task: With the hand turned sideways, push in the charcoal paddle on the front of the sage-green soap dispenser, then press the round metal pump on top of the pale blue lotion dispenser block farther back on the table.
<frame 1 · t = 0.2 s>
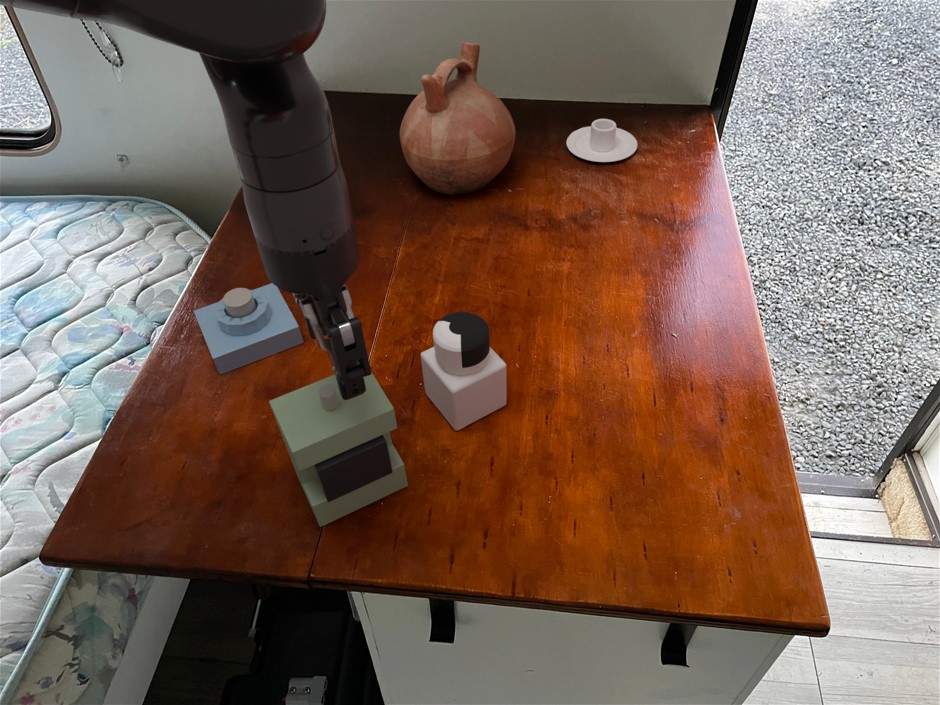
hand: (337, 363, 65), 17 cm above the table, tool pointing down, fingers open, 8 cm apart
soap dispenser: (356, 488, 76), on the table
jug: (459, 177, 117), on the table
medicine bottle: (465, 400, 84), on the table
candle holder: (601, 148, 122), on the table
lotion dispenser: (251, 334, 93), on the table
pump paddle: (354, 468, 69), point 7 cm above the table, slide at -0.1 cm
lotion pump: (239, 303, 89), point 6 cm above the table, slide at 0.1 cm
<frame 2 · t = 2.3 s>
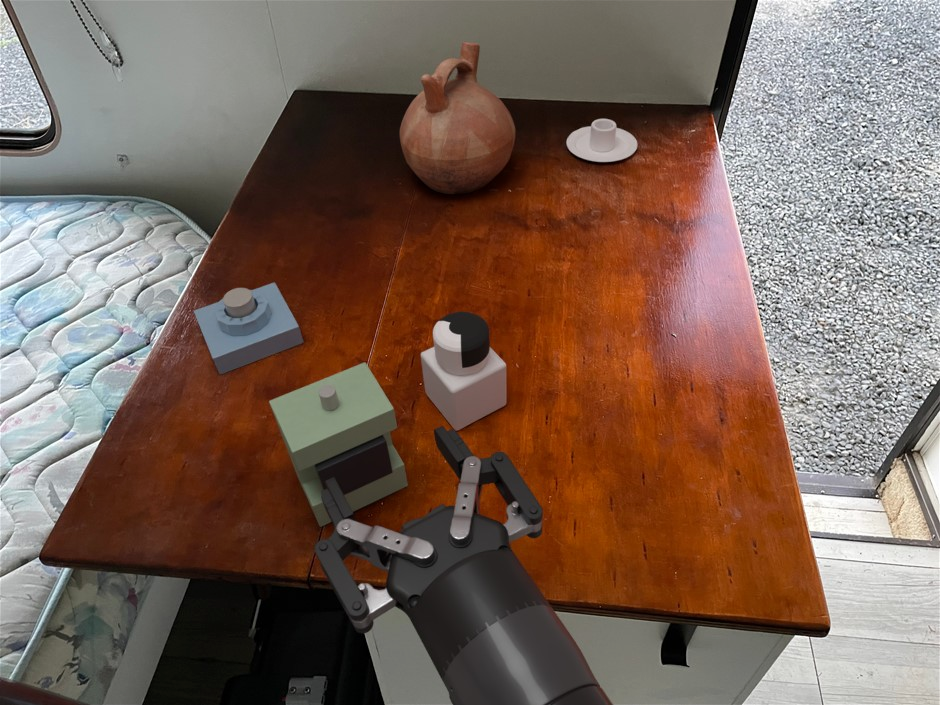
hand: (386, 459, 51), 22 cm above the table, tool horizontal, fingers open, 8 cm apart
nothing on the table moved.
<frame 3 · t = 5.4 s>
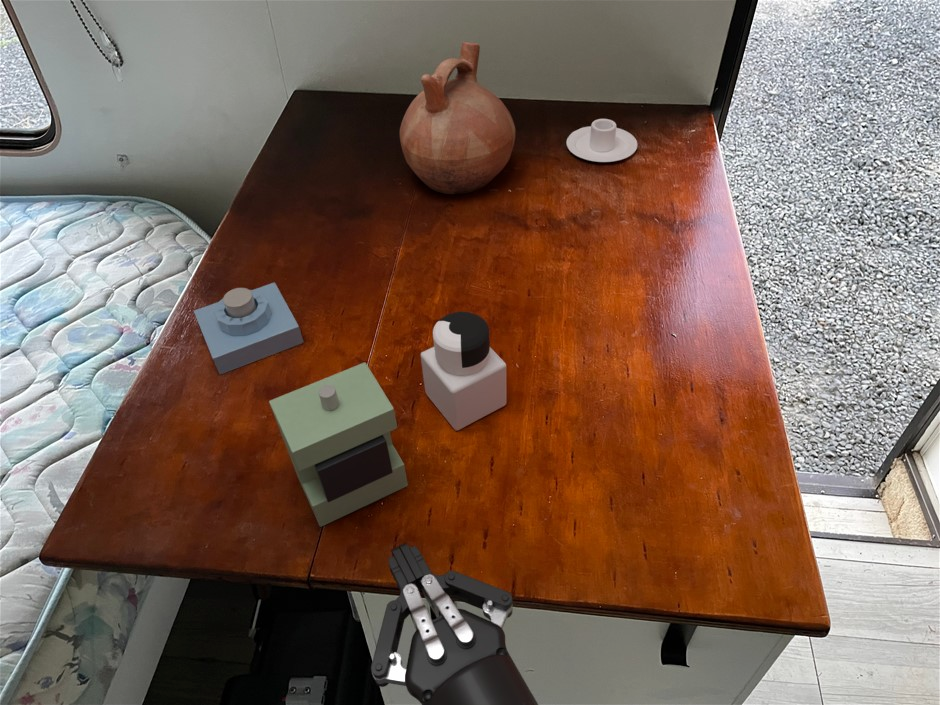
hand: (399, 550, 62), 8 cm above the table, tool horizontal, fingers closed
nothing on the table moved.
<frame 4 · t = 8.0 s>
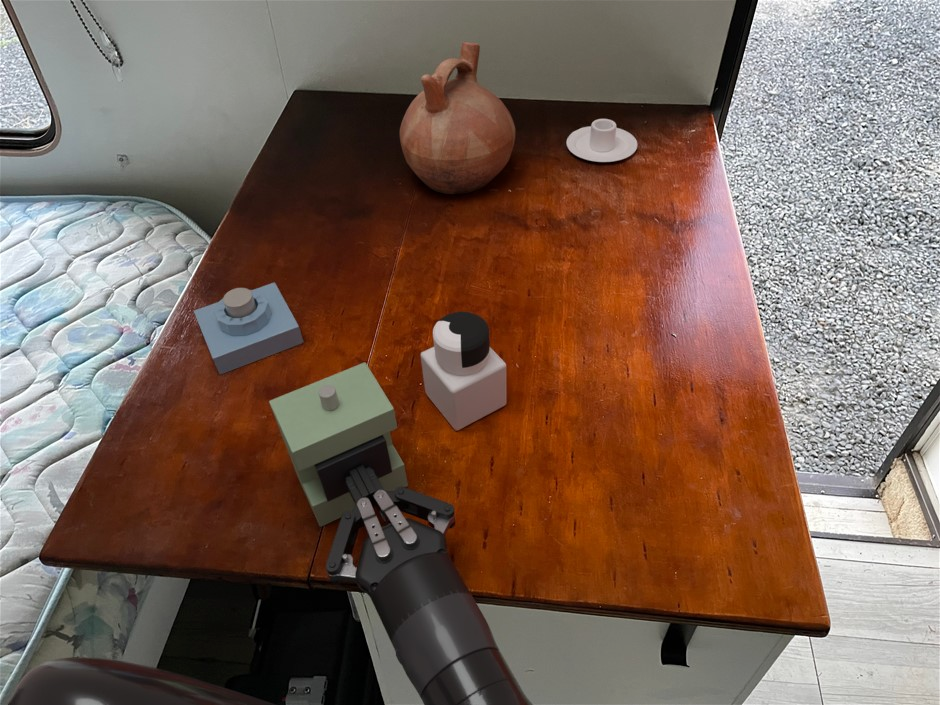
hand: (356, 472, 69), 7 cm above the table, tool horizontal, fingers closed
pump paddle: (354, 467, 69), point 7 cm above the table, slide at 0.0 cm, touching gripper
everything else where it was.
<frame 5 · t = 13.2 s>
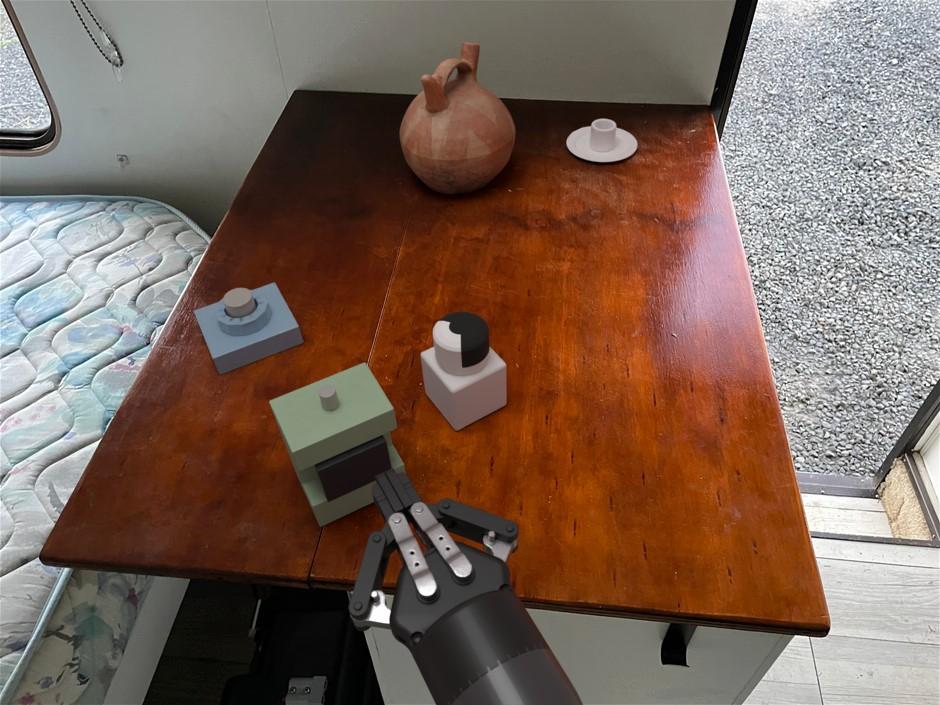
hand: (384, 478, 53), 20 cm above the table, tool horizontal, fingers closed
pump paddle: (354, 468, 69), point 7 cm above the table, slide at -0.1 cm
everything else where it was.
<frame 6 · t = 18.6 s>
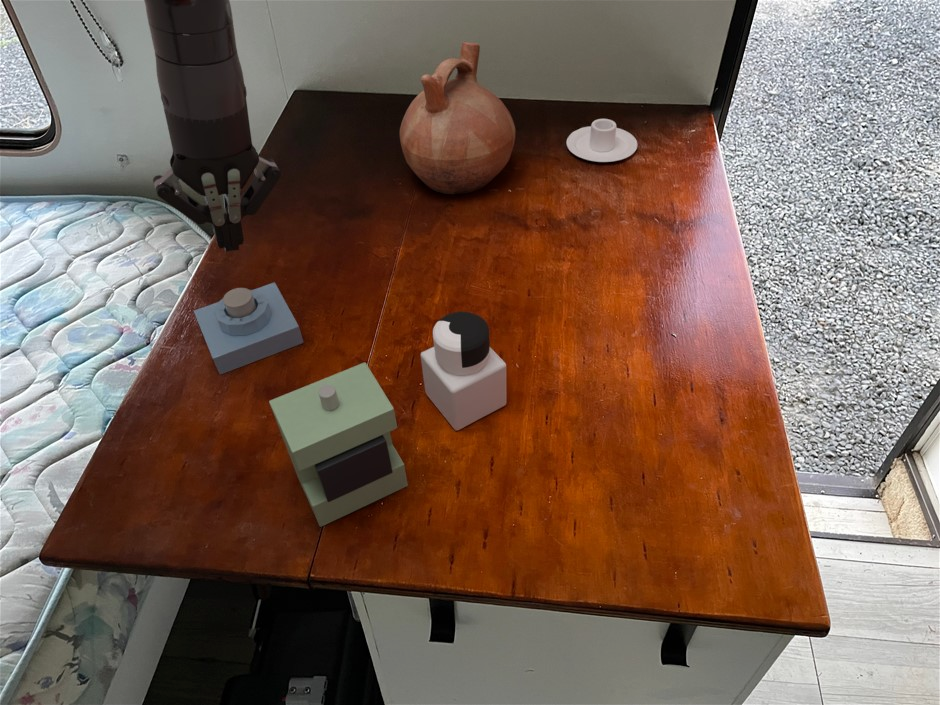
hand: (230, 247, 79), 16 cm above the table, tool pointing down, fingers closed
nothing on the table moved.
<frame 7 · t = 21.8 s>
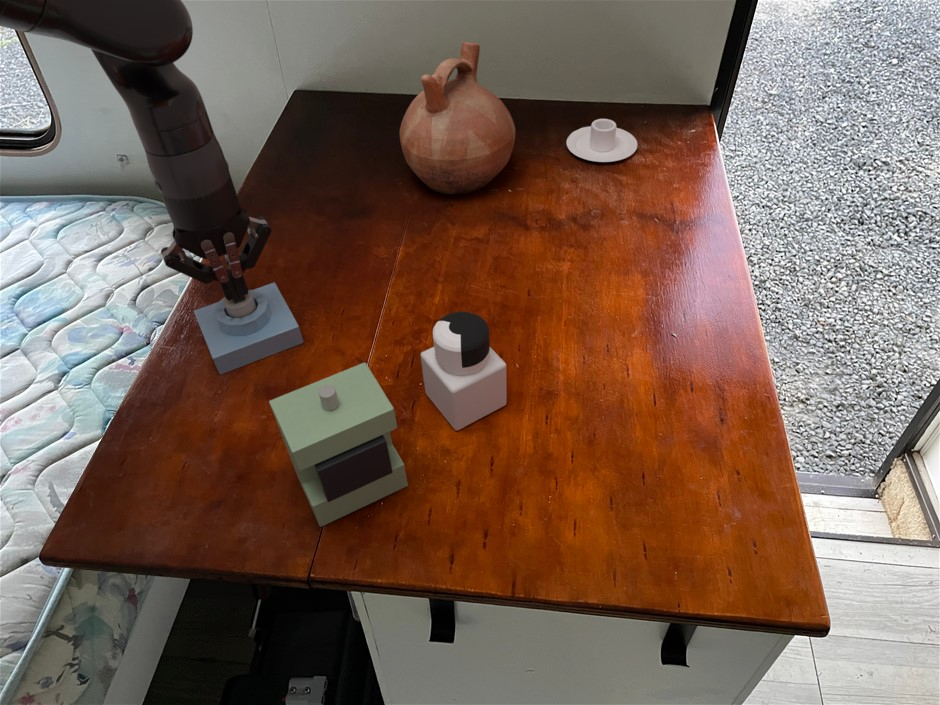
hand: (237, 297, 88), 6 cm above the table, tool pointing down, fingers closed
lotion pump: (240, 304, 89), point 5 cm above the table, slide at -0.1 cm, touching gripper
everything else where it was.
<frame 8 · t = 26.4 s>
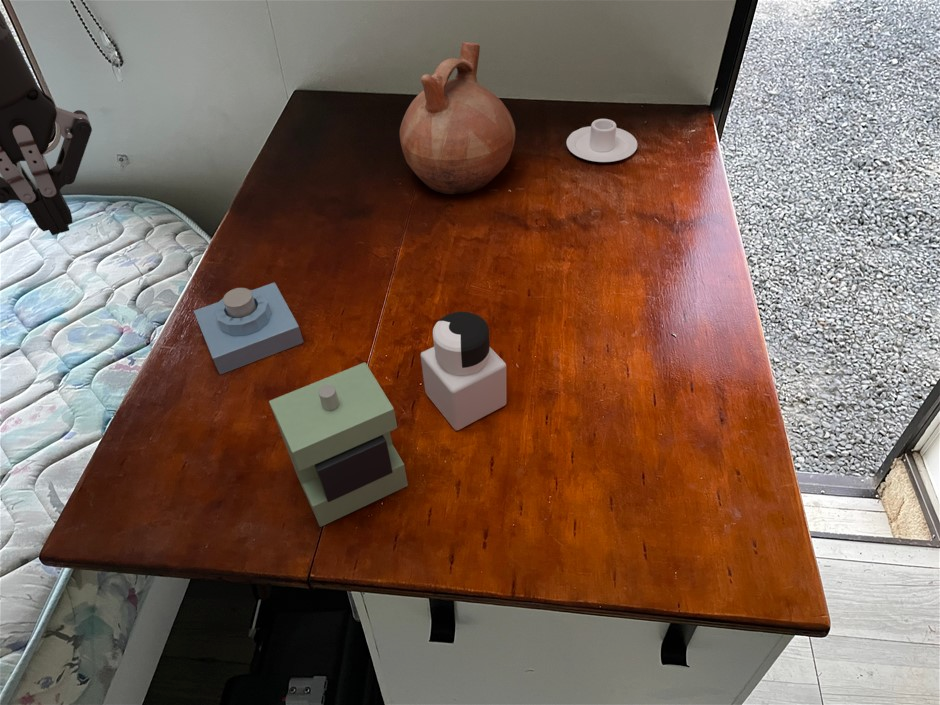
hand: (59, 228, 64), 27 cm above the table, tool pointing down, fingers closed
lotion pump: (239, 303, 89), point 6 cm above the table, slide at 0.1 cm
everything else where it was.
at the end: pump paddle pulled out 1.8 cm at the most during the clip, back to where it started at the end; lotion pump pushed in 1.2 cm at the most during the clip, back to where it started at the end; lotion pump slide at 0.1 cm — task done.
